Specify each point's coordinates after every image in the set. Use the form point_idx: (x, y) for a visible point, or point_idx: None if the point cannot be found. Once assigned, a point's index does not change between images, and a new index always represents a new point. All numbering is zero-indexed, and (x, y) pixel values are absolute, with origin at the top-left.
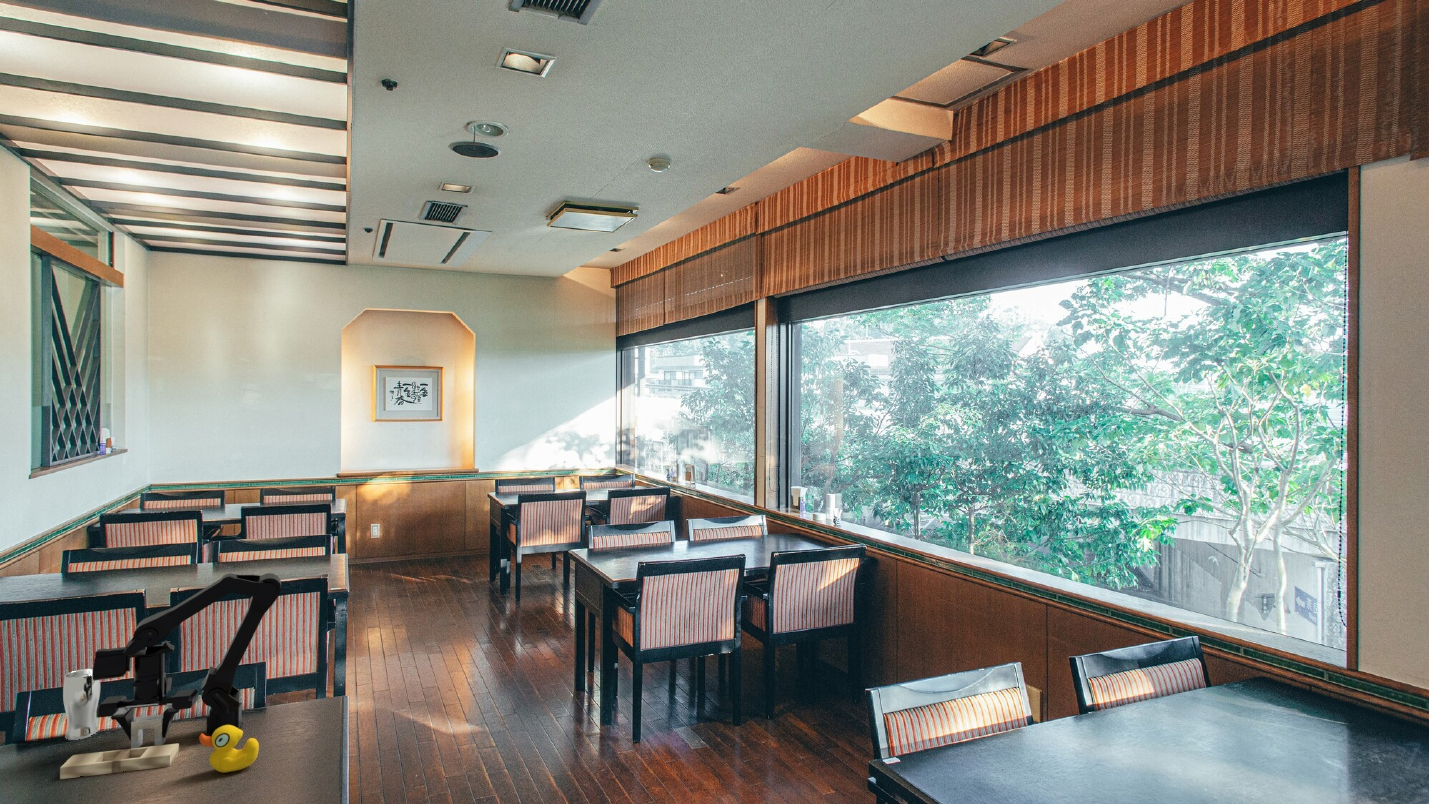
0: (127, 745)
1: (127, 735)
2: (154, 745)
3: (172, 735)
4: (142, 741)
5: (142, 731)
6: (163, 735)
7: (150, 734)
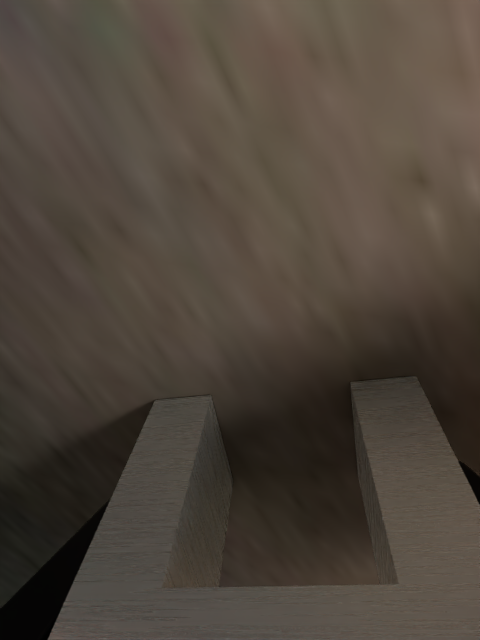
0: (92, 402)
1: None
2: (360, 485)
3: (443, 229)
4: (207, 411)
5: (185, 503)
6: None
7: (150, 159)
